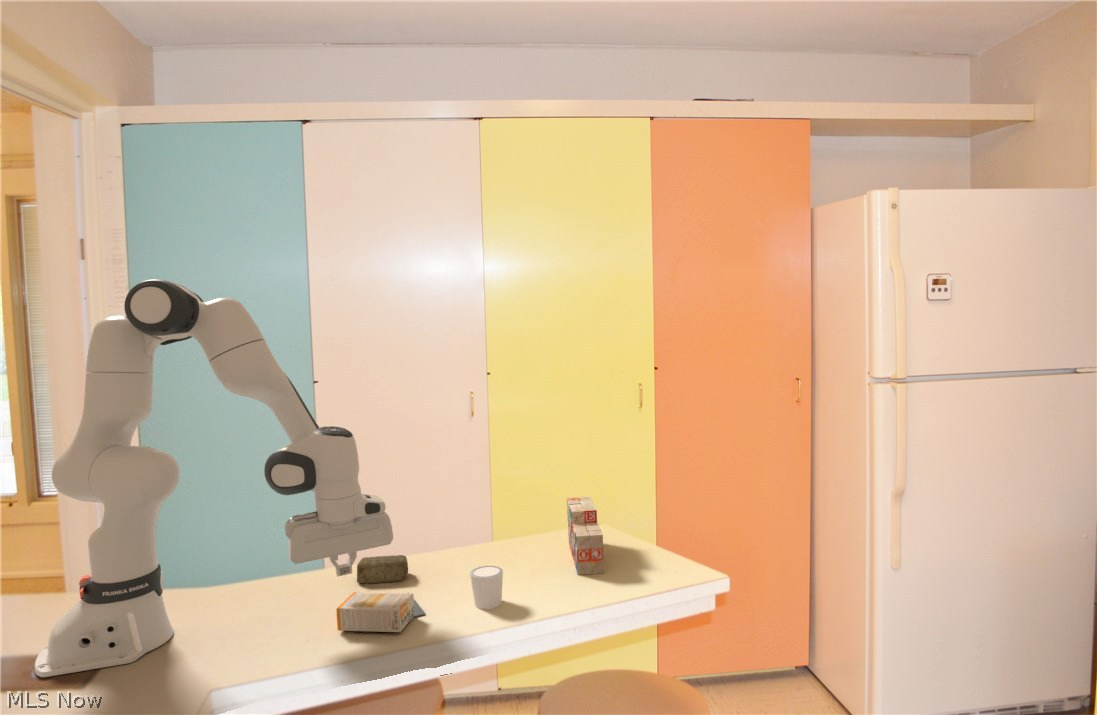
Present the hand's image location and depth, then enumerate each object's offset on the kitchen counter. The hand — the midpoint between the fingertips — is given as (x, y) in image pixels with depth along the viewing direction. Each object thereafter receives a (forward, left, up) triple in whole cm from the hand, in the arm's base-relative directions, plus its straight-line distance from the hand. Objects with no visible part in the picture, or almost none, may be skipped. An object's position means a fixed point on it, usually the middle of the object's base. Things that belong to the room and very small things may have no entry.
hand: (344, 574), depth 141 cm
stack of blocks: (+58, +3, -10) cm, 59 cm away
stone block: (+12, +18, -10) cm, 23 cm away
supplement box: (-1, -1, -7) cm, 7 cm away
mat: (+7, 0, -10) cm, 12 cm away
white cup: (+27, -8, -10) cm, 30 cm away
